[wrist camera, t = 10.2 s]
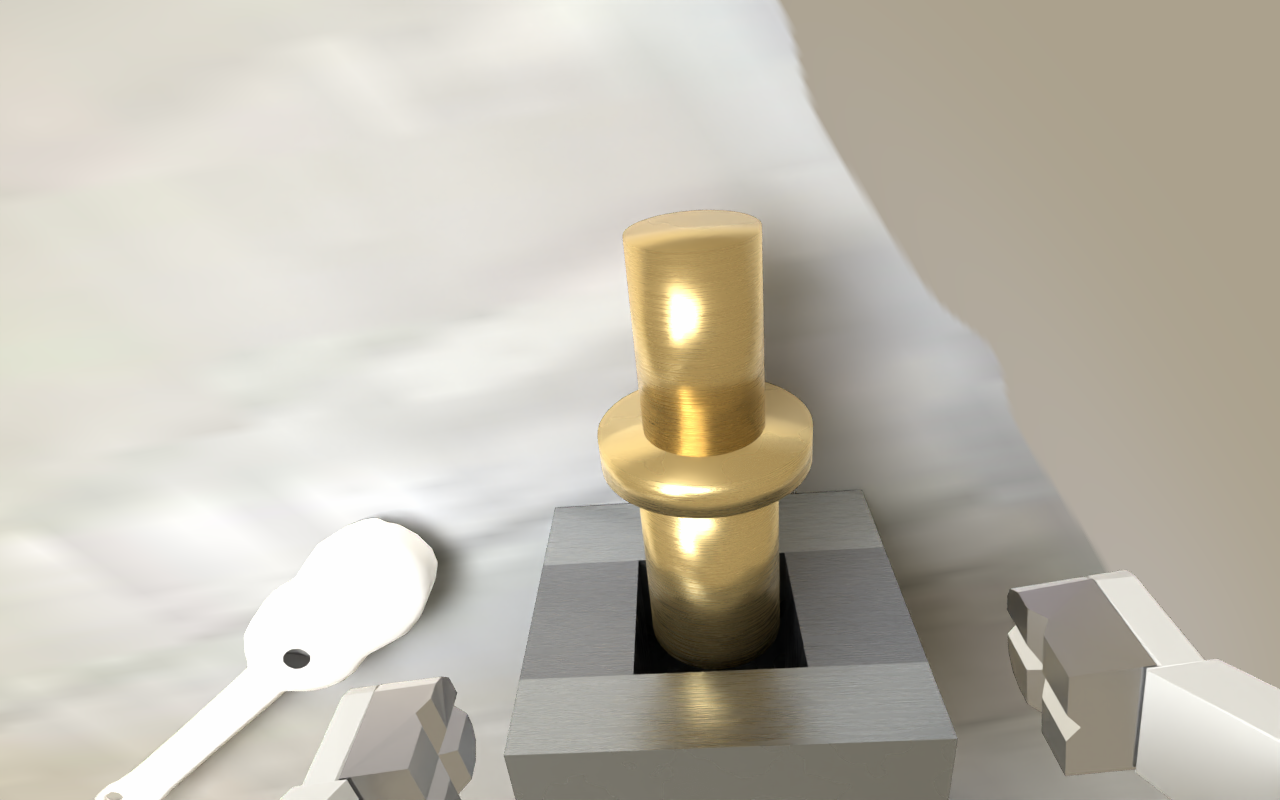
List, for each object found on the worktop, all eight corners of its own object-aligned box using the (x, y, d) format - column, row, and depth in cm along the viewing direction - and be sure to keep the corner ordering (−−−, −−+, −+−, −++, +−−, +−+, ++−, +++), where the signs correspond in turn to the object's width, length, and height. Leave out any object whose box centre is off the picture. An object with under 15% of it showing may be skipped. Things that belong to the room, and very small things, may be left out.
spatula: (181, 796, 47) (154, 842, 45) (95, 750, 45) (61, 796, 43) (471, 554, 37) (456, 596, 35) (374, 483, 35) (352, 522, 33)
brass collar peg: (794, 554, 32) (825, 690, 26) (628, 563, 33) (619, 698, 27) (795, 189, 25) (838, 258, 19) (582, 207, 26) (556, 280, 19)
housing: (851, 677, 41) (924, 951, 29) (587, 688, 42) (558, 957, 30) (861, 489, 35) (957, 738, 23) (555, 507, 36) (503, 755, 24)
